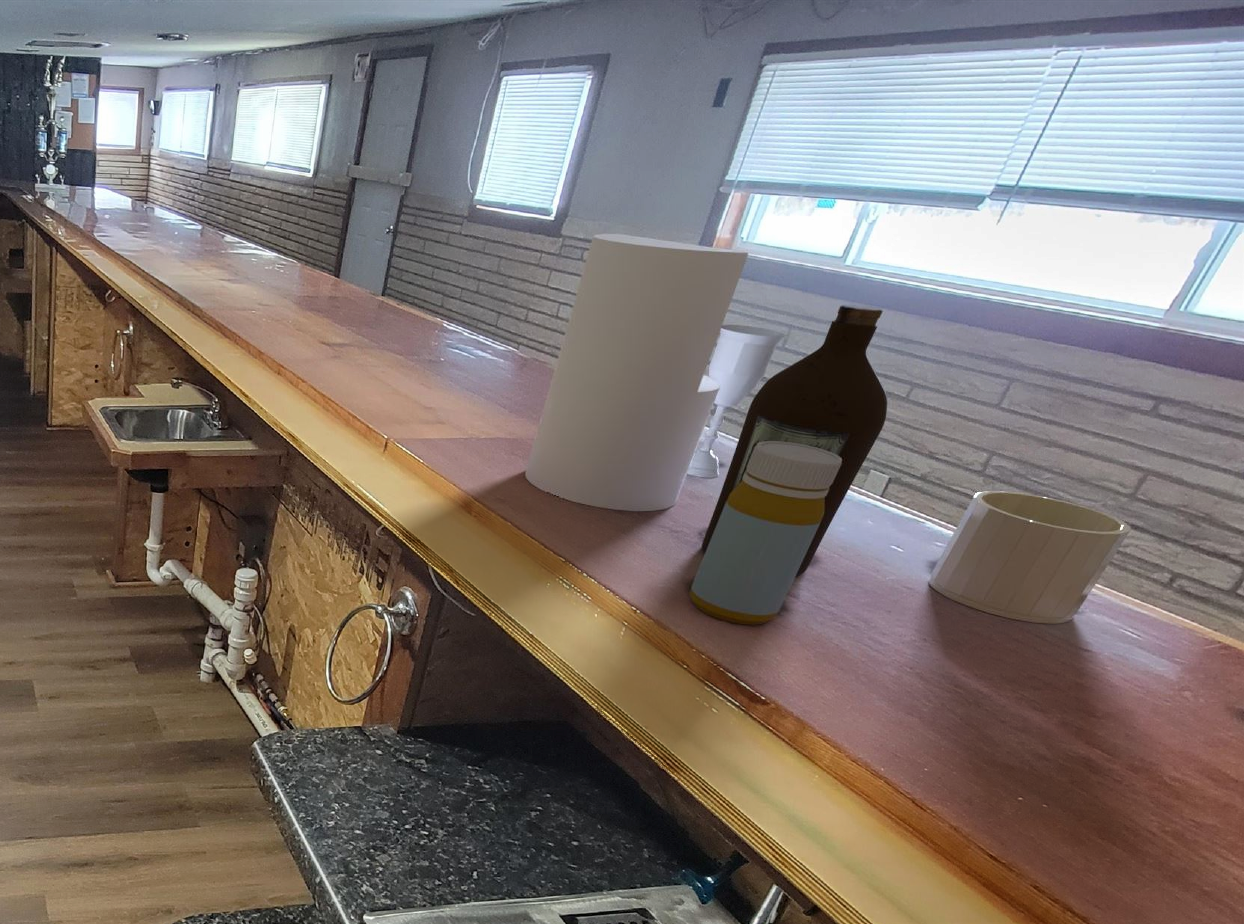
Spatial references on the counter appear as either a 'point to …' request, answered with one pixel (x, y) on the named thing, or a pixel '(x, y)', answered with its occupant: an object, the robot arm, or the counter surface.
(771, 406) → the olive oil
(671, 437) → the cylinder
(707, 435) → the chalice
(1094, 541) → the cream round pot
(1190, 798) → the counter surface
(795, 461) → the bottle
